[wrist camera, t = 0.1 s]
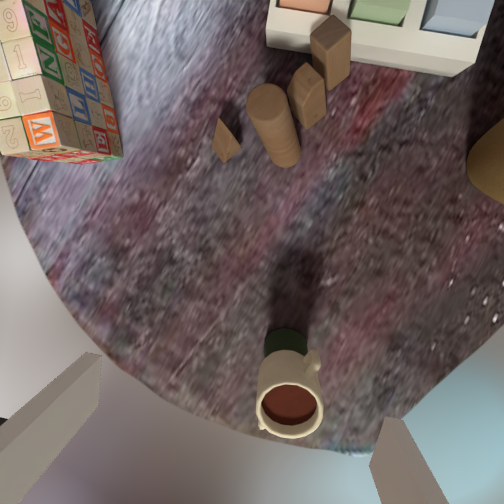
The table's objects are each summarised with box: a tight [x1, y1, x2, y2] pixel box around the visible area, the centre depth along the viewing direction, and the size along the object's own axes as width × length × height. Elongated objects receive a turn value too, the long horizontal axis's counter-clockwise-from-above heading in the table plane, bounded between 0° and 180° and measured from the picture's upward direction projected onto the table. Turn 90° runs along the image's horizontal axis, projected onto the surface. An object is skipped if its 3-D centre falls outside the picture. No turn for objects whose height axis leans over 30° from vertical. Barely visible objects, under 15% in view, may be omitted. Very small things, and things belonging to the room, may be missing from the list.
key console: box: [266, 0, 487, 77], centre depth 31 cm, size 10×22×4 cm, turn 80°
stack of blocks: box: [0, 0, 123, 164], centre depth 31 cm, size 21×6×12 cm, turn 7°
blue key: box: [419, 0, 495, 38], centre depth 29 cm, size 5×5×4 cm
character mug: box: [256, 329, 323, 438], centre depth 37 cm, size 11×7×13 cm, turn 144°
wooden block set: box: [212, 15, 352, 167], centre depth 32 cm, size 18×9×10 cm, turn 129°
